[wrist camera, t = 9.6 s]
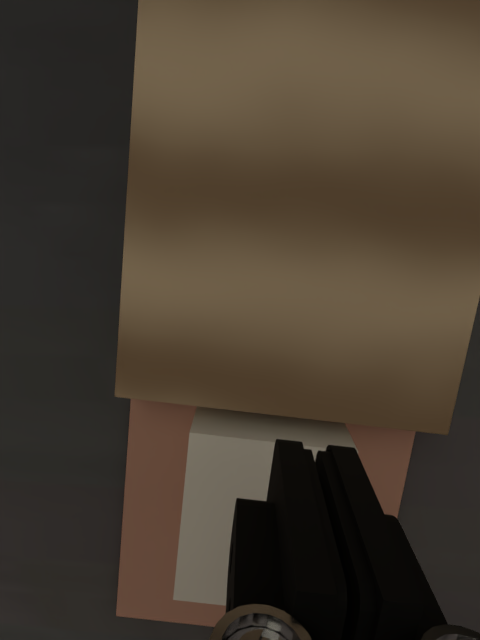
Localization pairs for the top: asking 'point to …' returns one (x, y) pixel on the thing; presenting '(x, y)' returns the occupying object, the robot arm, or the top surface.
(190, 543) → the cream block
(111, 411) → the top surface
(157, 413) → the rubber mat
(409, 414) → the oak board
